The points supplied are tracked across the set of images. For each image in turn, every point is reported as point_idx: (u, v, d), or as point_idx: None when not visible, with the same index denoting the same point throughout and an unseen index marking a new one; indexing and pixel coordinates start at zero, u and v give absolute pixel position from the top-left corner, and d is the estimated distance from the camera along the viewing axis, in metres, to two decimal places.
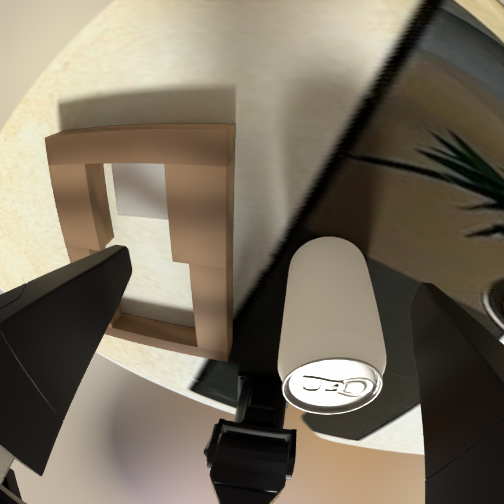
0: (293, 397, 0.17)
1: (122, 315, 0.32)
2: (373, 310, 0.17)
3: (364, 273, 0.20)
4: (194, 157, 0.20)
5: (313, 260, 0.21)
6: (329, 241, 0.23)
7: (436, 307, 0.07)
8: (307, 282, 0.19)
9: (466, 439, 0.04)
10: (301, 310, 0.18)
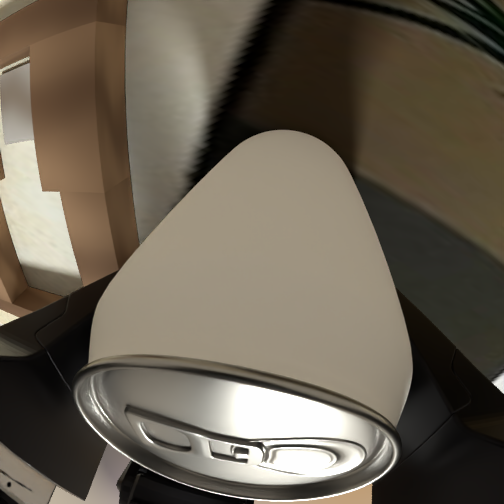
0: (148, 451, 0.06)
1: (27, 289, 0.21)
2: (367, 228, 0.06)
3: (345, 173, 0.09)
4: (60, 23, 0.09)
5: (235, 151, 0.10)
6: (276, 132, 0.12)
7: None
8: (205, 177, 0.08)
9: (406, 446, 0.04)
10: (161, 221, 0.06)
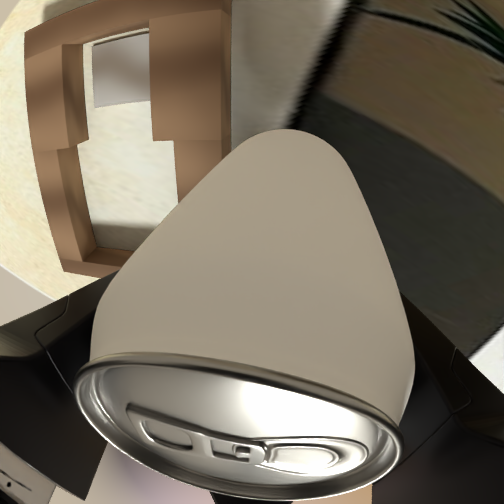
0: (148, 450, 0.06)
1: (96, 249, 0.26)
2: (369, 227, 0.06)
3: (346, 173, 0.09)
4: (183, 5, 0.13)
5: (236, 150, 0.10)
6: (278, 131, 0.12)
7: None
8: (207, 175, 0.08)
9: (406, 446, 0.04)
10: None
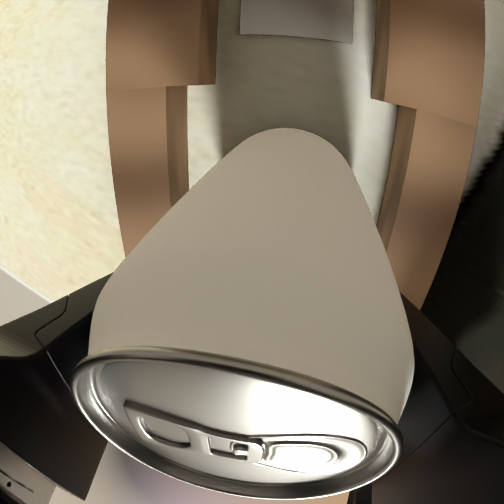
0: (146, 447, 0.06)
1: None
2: (369, 224, 0.06)
3: (347, 171, 0.09)
4: None
5: (237, 148, 0.10)
6: (279, 130, 0.12)
7: None
8: (207, 173, 0.08)
9: (406, 446, 0.04)
10: (162, 217, 0.06)
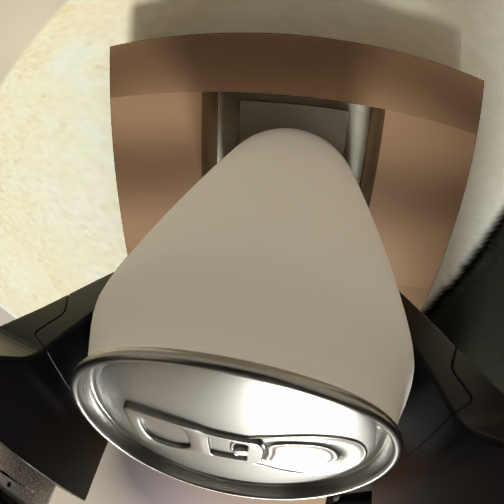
0: (146, 448, 0.06)
1: None
2: (369, 225, 0.06)
3: (347, 171, 0.09)
4: (437, 109, 0.10)
5: (237, 148, 0.10)
6: (278, 130, 0.12)
7: None
8: (207, 174, 0.08)
9: (406, 446, 0.04)
10: None
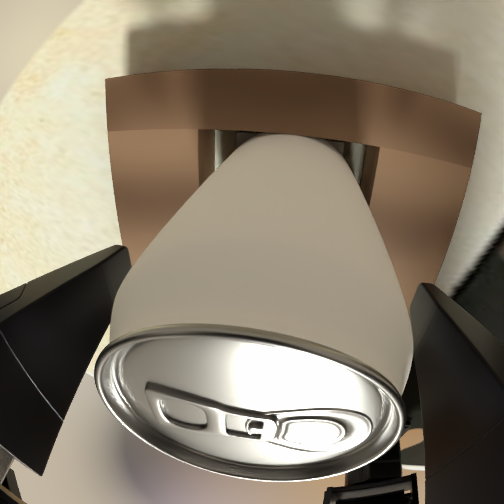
0: (160, 433, 0.06)
1: None
2: (369, 219, 0.07)
3: (347, 170, 0.10)
4: (432, 145, 0.10)
5: (242, 148, 0.11)
6: None
7: (436, 307, 0.07)
8: (216, 171, 0.09)
9: (466, 439, 0.04)
10: (177, 212, 0.07)
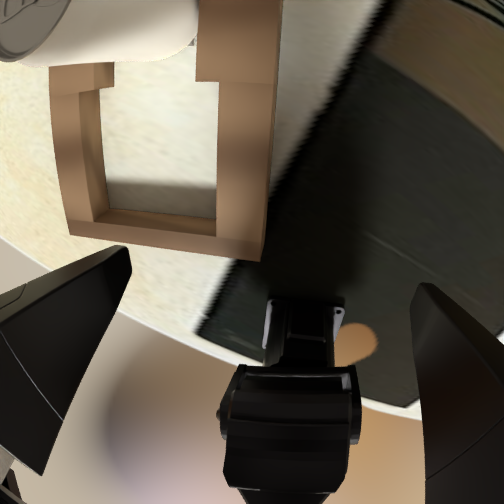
0: None
1: (109, 210, 0.23)
2: None
3: None
4: None
5: None
6: None
7: (436, 307, 0.07)
8: None
9: (466, 439, 0.04)
10: None
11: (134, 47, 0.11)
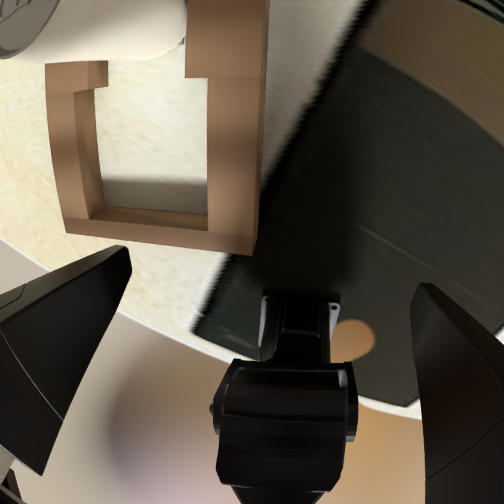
0: None
1: (105, 208, 0.24)
2: None
3: None
4: None
5: None
6: None
7: (436, 307, 0.07)
8: None
9: (466, 439, 0.04)
10: None
11: (124, 45, 0.11)
